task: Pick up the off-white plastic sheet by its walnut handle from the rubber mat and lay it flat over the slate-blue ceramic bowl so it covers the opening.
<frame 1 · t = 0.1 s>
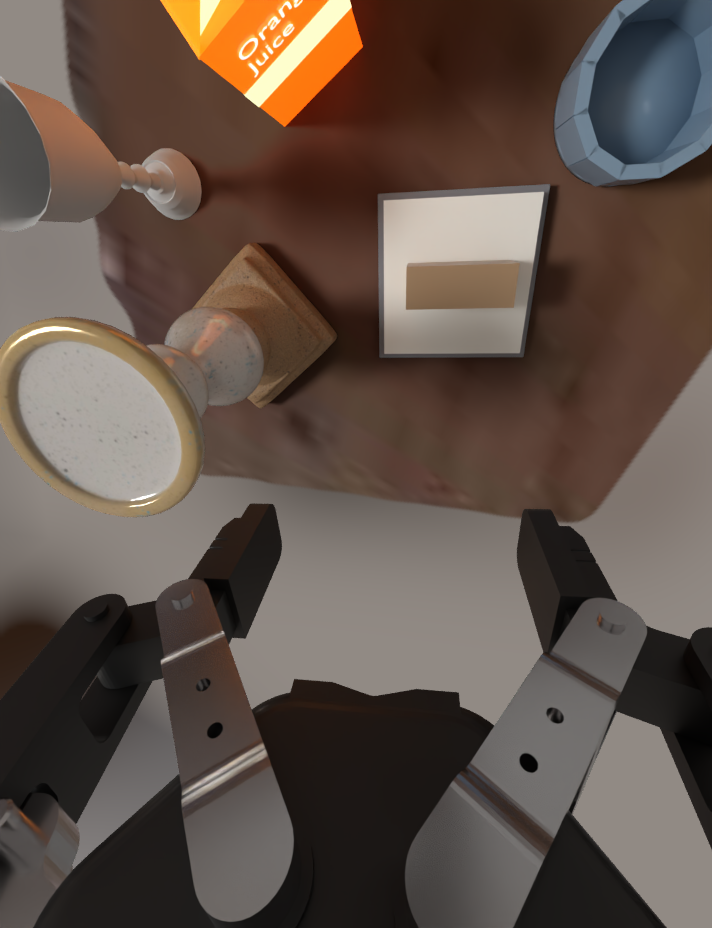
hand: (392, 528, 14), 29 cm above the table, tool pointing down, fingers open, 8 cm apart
bowl: (626, 104, 29), on the table
sheet: (455, 280, 35), point 1 cm above the table, touching mat
candle holder: (262, 329, 40), on the table
chalice: (173, 185, 35), on the table
mat: (454, 279, 36), on the table
orange juice: (286, 25, 30), on the table
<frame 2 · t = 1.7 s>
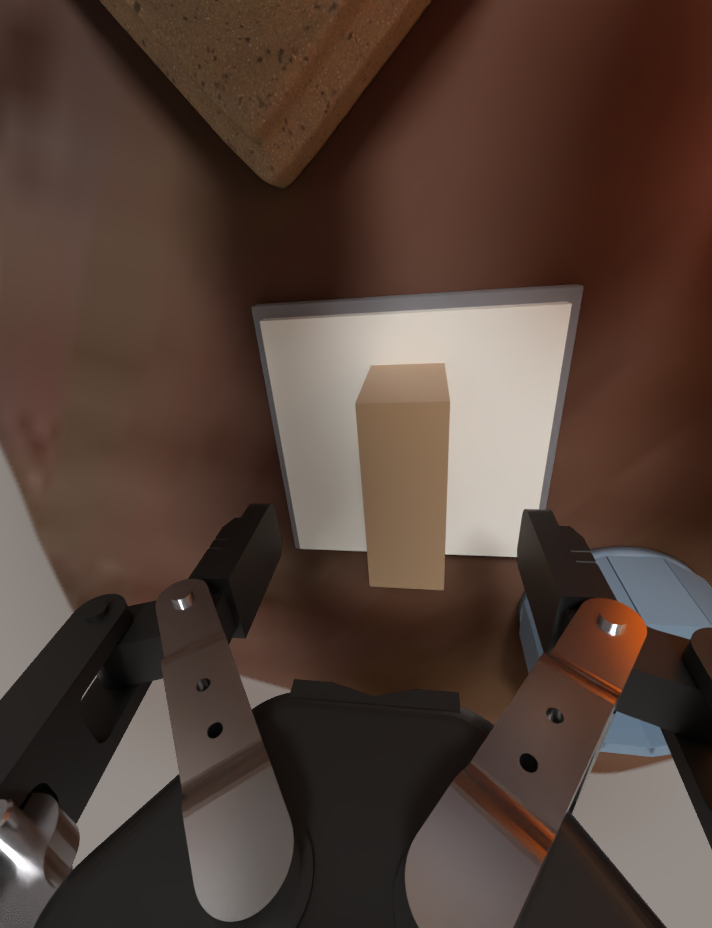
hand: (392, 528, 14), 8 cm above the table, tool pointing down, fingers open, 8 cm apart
bowl: (607, 612, 24), on the table
sheet: (409, 445, 19), point 1 cm above the table, touching mat
mat: (409, 438, 20), on the table
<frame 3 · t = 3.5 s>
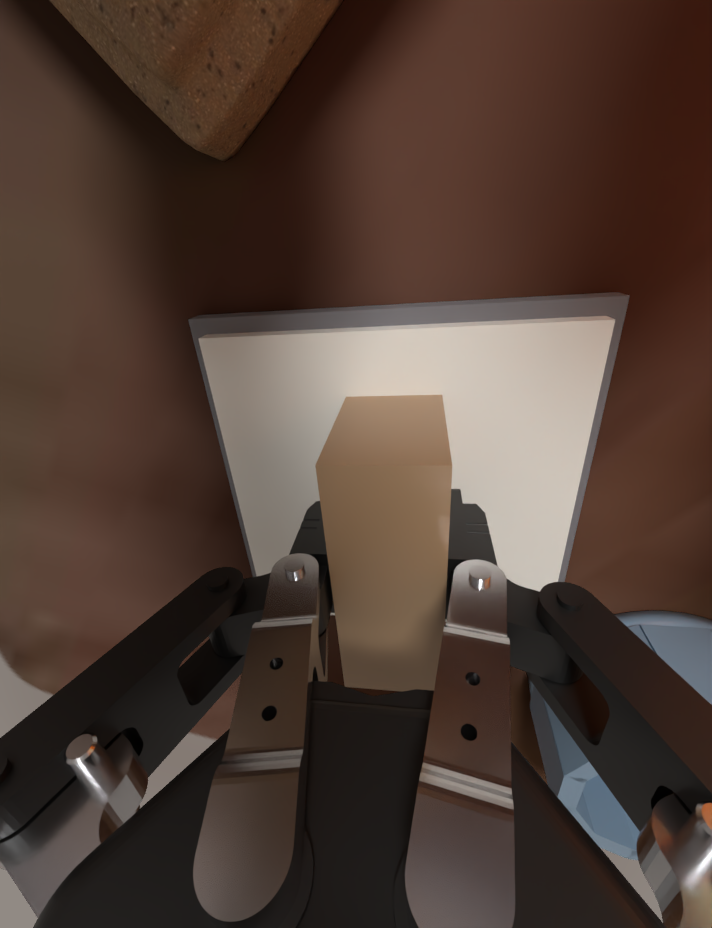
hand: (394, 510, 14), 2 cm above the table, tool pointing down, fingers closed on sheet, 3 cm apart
bowl: (635, 682, 20), on the table
sheet: (396, 493, 15), point 1 cm above the table, touching gripper, mat
mat: (397, 481, 16), on the table
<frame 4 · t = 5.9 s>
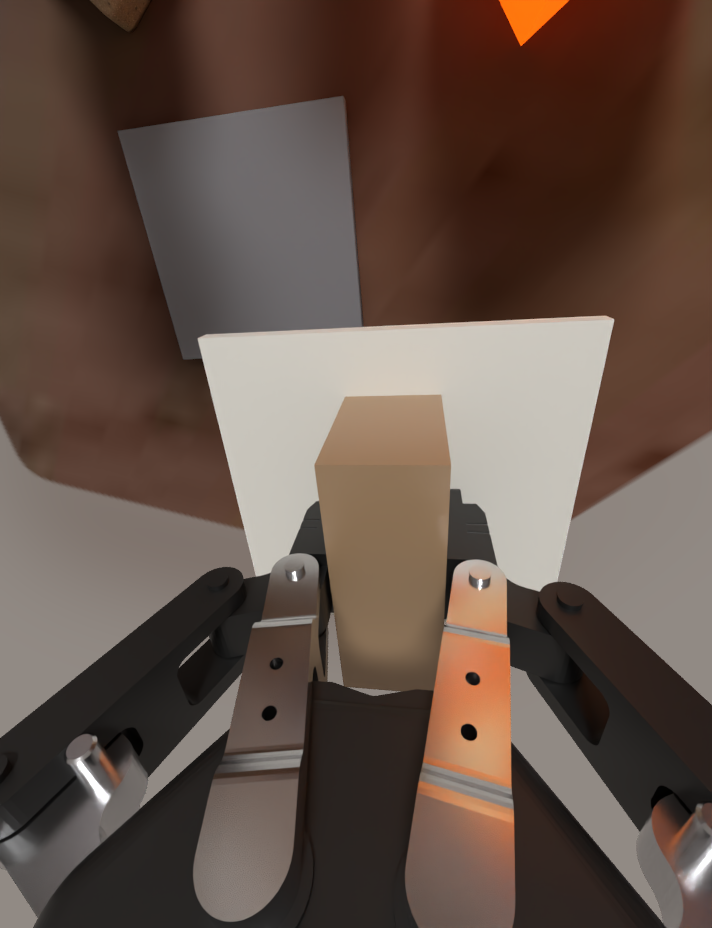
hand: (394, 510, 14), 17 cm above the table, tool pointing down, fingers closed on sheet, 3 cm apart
sheet: (396, 493, 15), point 16 cm above the table, touching gripper
mat: (255, 248, 26), on the table
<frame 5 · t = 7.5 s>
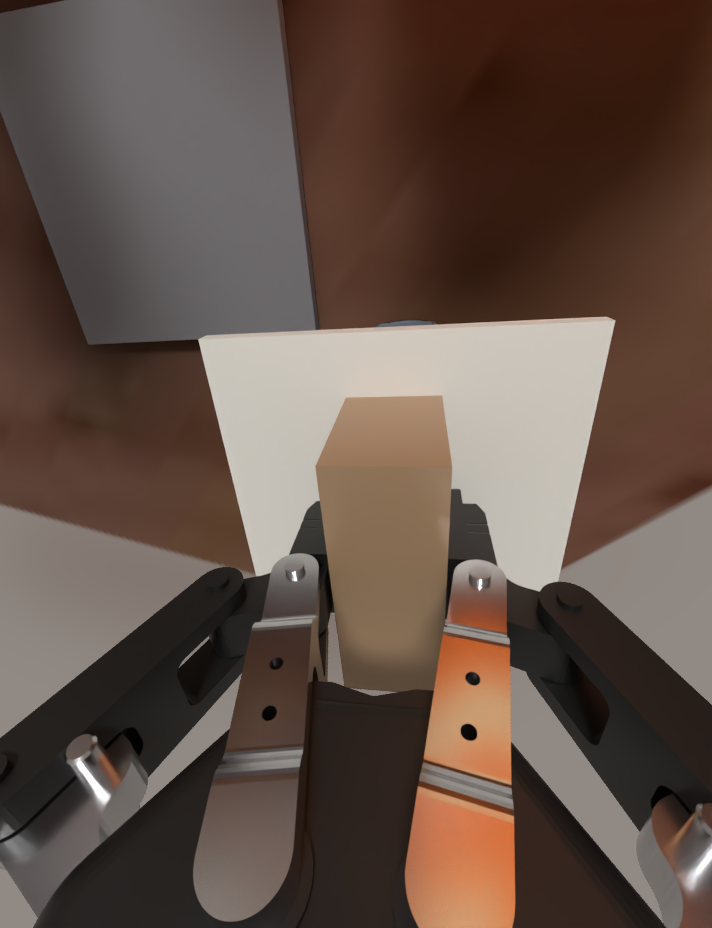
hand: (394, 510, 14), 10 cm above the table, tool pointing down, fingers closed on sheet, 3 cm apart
sheet: (396, 493, 15), point 9 cm above the table, touching gripper
mat: (169, 195, 20), on the table
when the fingers open (7 cm above the table, at t = 8.7 s): sheet stays where it is, resting on bowl.
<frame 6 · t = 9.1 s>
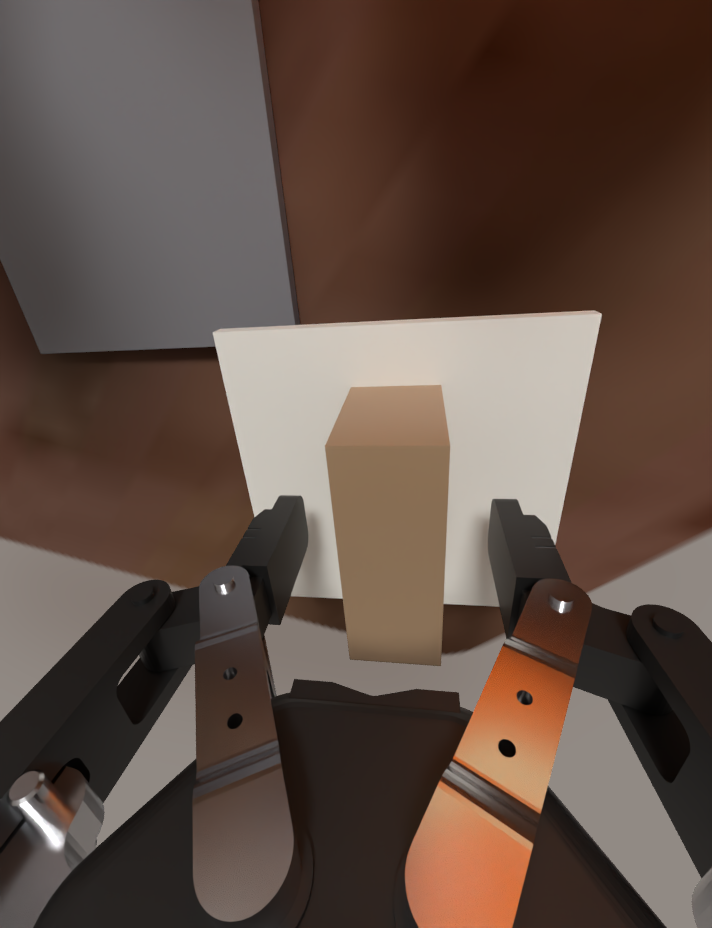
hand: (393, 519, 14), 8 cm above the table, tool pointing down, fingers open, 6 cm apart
sheet: (398, 479, 16), point 5 cm above the table, touching bowl
mat: (127, 183, 17), on the table
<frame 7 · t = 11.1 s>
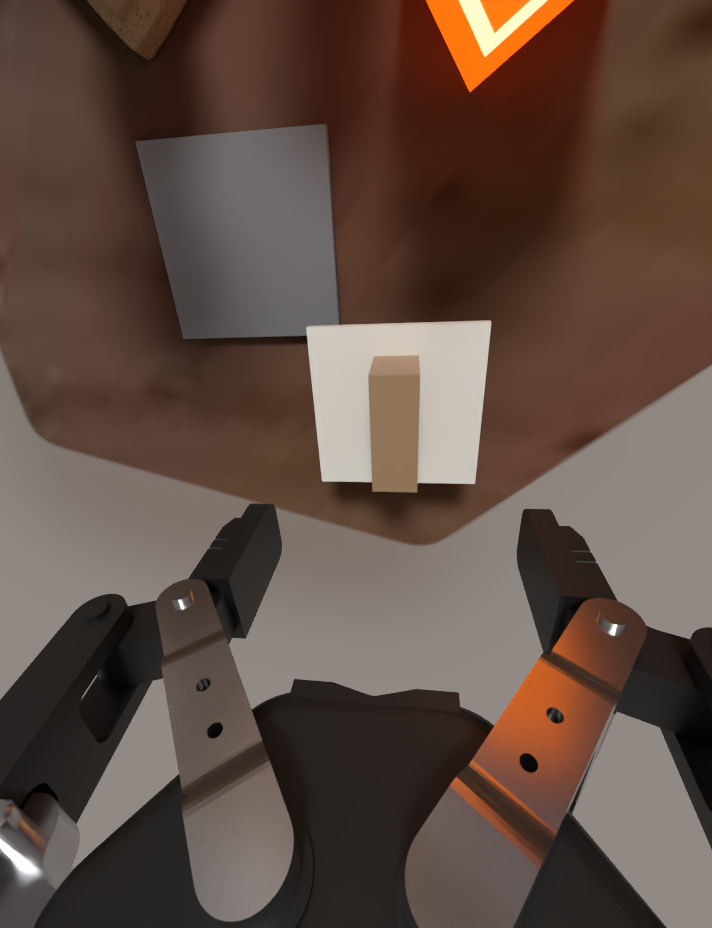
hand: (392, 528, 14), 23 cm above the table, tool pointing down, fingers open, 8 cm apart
sheet: (396, 408, 30), point 5 cm above the table, touching bowl
mat: (248, 245, 31), on the table
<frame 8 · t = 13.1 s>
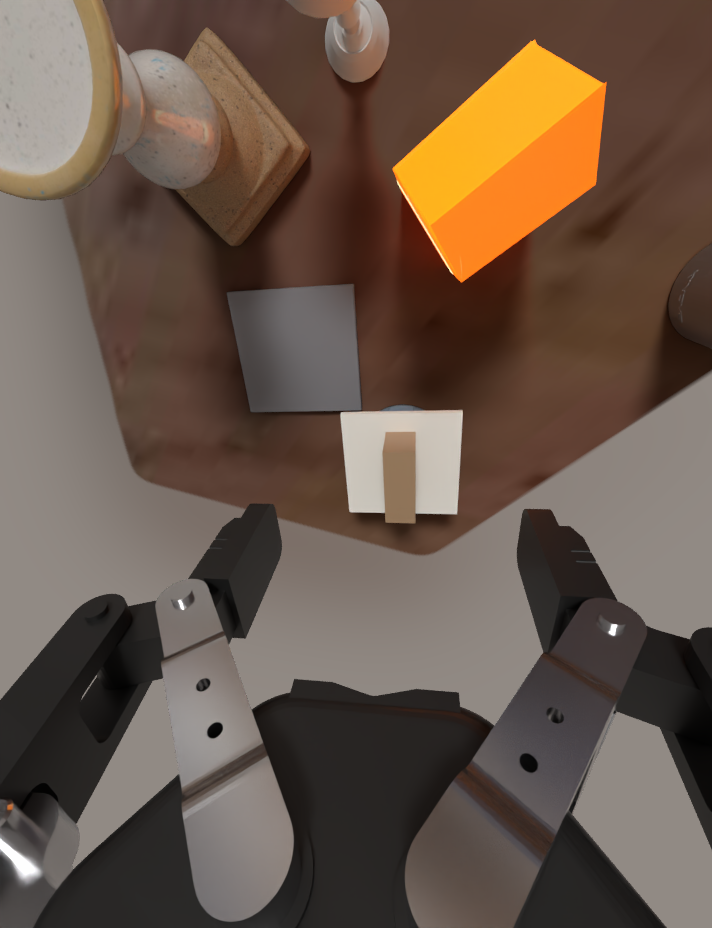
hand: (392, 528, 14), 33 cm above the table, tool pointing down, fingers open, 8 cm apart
sheet: (401, 463, 44), point 5 cm above the table, touching bowl
candle holder: (229, 151, 37), on the table
chalice: (357, 40, 33), on the table
mat: (299, 352, 45), on the table
orange juice: (466, 195, 36), on the table
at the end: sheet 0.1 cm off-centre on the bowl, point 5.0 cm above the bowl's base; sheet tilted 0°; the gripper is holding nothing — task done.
